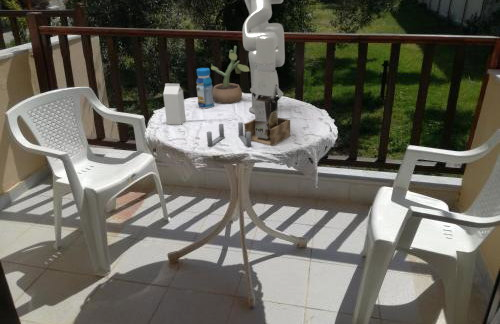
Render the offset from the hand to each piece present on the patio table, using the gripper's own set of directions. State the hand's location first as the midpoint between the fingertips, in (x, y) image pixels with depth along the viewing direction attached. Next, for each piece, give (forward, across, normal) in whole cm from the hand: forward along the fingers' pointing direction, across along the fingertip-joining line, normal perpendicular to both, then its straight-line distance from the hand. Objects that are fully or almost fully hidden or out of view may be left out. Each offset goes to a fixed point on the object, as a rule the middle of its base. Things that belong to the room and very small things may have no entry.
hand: (266, 109), depth 177 cm
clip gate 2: (+13, -6, -8) cm, 16 cm away
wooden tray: (+13, 0, 0) cm, 13 cm away
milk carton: (+13, -49, -6) cm, 51 cm away
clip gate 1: (+13, -16, -15) cm, 25 cm away
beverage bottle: (+13, -54, +21) cm, 59 cm away
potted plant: (+13, -49, +36) cm, 62 cm away
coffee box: (+11, 0, 0) cm, 11 cm away
